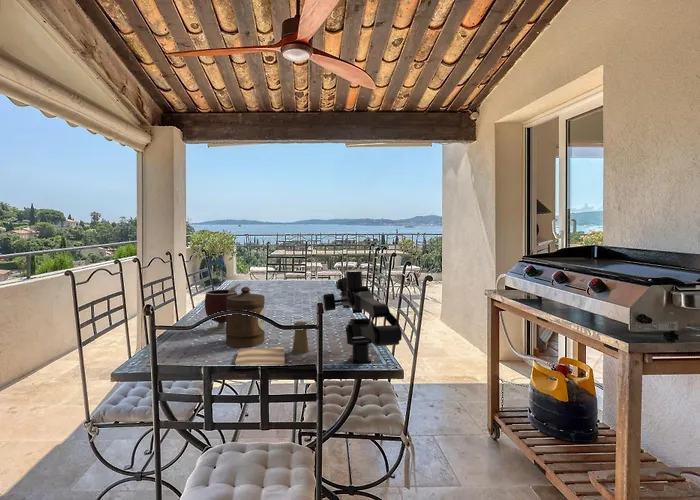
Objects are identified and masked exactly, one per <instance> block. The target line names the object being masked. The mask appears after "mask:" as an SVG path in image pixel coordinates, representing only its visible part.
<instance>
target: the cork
mask: <svg viewBox="0 0 700 500" xmlns="http://www.w3.org/2000/svg"><path fill="white" fill-rule="evenodd" d="M305 324H307V325H308V323H307V322H306V321H303V320H302V321H300V320H299V321H296V322H294V324H293V326H294V325H305ZM307 330H308V329H303V330H294V336H293V345H292V350H291V351H292V353H294V354H295V355H297V354H298V355H302V354H303V355H305V354H308V353H309V352H310V350H309V341H308V334H307Z"/></svg>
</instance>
